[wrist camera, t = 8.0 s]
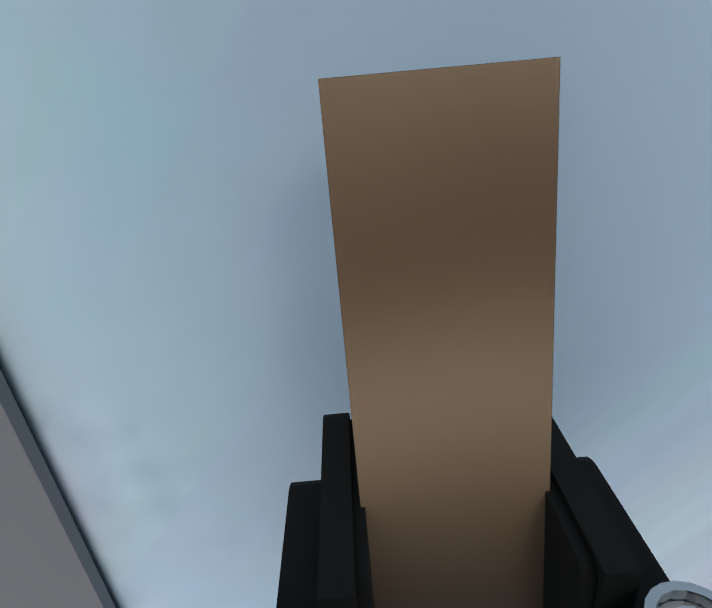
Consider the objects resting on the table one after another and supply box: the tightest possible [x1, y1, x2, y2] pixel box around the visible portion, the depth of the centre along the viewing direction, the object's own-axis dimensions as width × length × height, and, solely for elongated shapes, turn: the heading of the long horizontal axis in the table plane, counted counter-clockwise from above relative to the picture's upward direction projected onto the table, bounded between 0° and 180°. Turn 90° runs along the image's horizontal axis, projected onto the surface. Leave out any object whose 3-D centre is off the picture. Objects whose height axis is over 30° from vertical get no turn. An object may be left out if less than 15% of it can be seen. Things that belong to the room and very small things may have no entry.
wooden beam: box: [318, 57, 560, 608], centre depth 11 cm, size 18×6×4 cm, turn 4°
